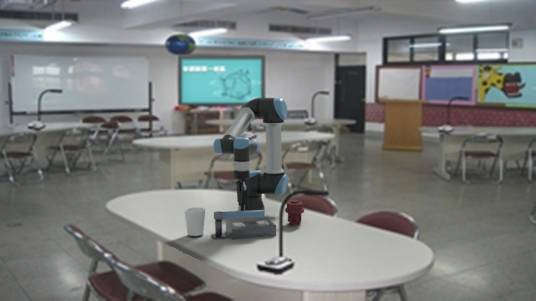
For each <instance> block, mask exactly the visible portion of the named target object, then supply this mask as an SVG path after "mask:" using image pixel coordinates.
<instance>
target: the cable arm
mask: <svg viewBox="0 0 536 301" xmlns="http://www.w3.org/2000/svg"><path fill="white" fill-rule="evenodd" d="M265 214H266V212H265V211H264V210H252V211H238V210H233V211H214V212H213V219H214V221H215V220H221V219H222V220H230V219H231V220H232V219H234V220H235V219H253V218H255V219H256V218H259V219H260V218H265V217H266V216H265Z"/></svg>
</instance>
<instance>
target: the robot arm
mask: <svg viewBox="0 0 536 301" xmlns="http://www.w3.org/2000/svg"><path fill="white" fill-rule="evenodd" d="M288 112H289V111H288V106H287V104H286V101H285V100H284V99H283V98H279V97H278V98H277V97H269V98H267V97H266V98H265V97H257V98H256V97H255V98H253V99H251V100H248V101H247V102H246V103H244V104H243V105H242V106H241V107H240V109H239V110H238V112H237V116H236V118H235V119H234V121H233V122H232V124H231V125H230V126H229V128H228V129H227V131H226V132H225V134H224V135H223V137H222V138H215V140H214V142H213V147H212V148H213V150H214V152H215V153H216V154H222V155H233V163H232V165H233V169H234V170H233V178H234V179H237V181H236V182H235V186H236V198H237V209H238V210H237V211H252V210H264V211H265V210H266V209H265V208H266V207H265V204H264V202H263V198H262V197H263V196H262V195H271V196H272V195H273V196H283V195H284V194H285V193H286V191H287V188H288V183H289V177H288V175H287V174H286V173H285V170H284V169H283V168H282V167H283V166H282V164H283V162H282V159H283V158H282V126H283V124H284V123H285V120H287V119H288ZM255 120H262V124H263V125H264V126H265V159H266V160H265V162H266V166H265V169H264V170H263V173H262V170H261V169H260V170H259V169H257V170H256V169H255V170H250V169H251V168H250V166H251V165H250V164H251V163H250V162H251V160H250V156H251V155H255V154H256V153H257V152H258V151H259V149H260V143H259V141H258V140H257V139H254V138H249V137H246V136H242V135H243V134H244V133H245V131H246V129H247V128H248V126H249V124H251V123H253V122H254V121H255Z"/></svg>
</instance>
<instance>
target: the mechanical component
mask: <svg viewBox="0 0 536 301" xmlns="http://www.w3.org/2000/svg"><path fill="white" fill-rule="evenodd" d="M303 206H304V203H303V202H302V201H299V200H298V199H292V200H290V201H288V202H286V207H285V209H284V212H285V213H286V214H287V222H288V223H289V224H291V225H292V226H297V225H300V224H301V223H302V214H303V213H305V208H304V207H303Z"/></svg>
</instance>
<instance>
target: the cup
mask: <svg viewBox="0 0 536 301" xmlns="http://www.w3.org/2000/svg"><path fill="white" fill-rule="evenodd" d="M184 215H185V216H184V218H185V225H186V232H187V235H188V237H190V238H192V237H193V238H198V237H203V235H204V230H205V219H206V218H205V217H206V208H203V207H198V206H197V207H189V208H186V209H184Z"/></svg>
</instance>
